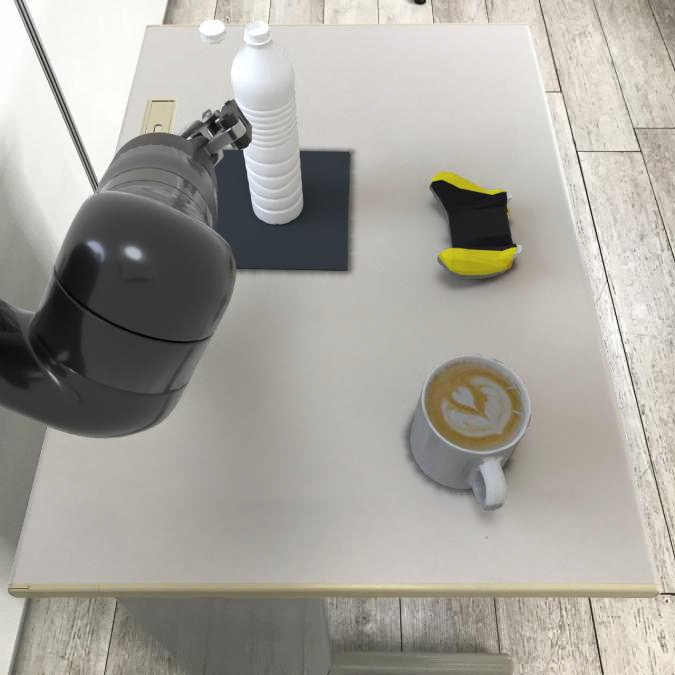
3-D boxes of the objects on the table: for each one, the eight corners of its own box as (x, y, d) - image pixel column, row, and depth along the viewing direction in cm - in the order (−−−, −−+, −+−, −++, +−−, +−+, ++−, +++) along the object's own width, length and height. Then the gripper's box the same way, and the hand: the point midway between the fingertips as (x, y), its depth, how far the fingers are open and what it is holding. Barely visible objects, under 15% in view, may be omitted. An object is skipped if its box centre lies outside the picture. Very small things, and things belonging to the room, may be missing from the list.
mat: (182, 267, 77) (181, 266, 77) (203, 150, 88) (203, 149, 87) (346, 270, 77) (347, 269, 77) (349, 152, 87) (349, 151, 87)
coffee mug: (407, 398, 68) (417, 353, 60) (499, 398, 69) (522, 353, 60) (415, 524, 62) (428, 494, 53) (518, 523, 62) (547, 493, 53)
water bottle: (303, 187, 84) (291, 5, 62) (303, 225, 80) (290, 47, 59) (237, 188, 84) (202, 6, 62) (234, 226, 80) (195, 49, 59)
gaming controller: (434, 291, 76) (518, 290, 76) (440, 263, 71) (530, 262, 71) (424, 196, 83) (501, 195, 83) (429, 165, 78) (511, 164, 78)
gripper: (111, 303, 44) (136, 227, 58) (281, 191, 43) (266, 140, 57) (31, 217, 41) (78, 157, 55) (213, 90, 39) (214, 62, 53)
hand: (173, 148), depth 56 cm, fingers open, 8 cm apart
